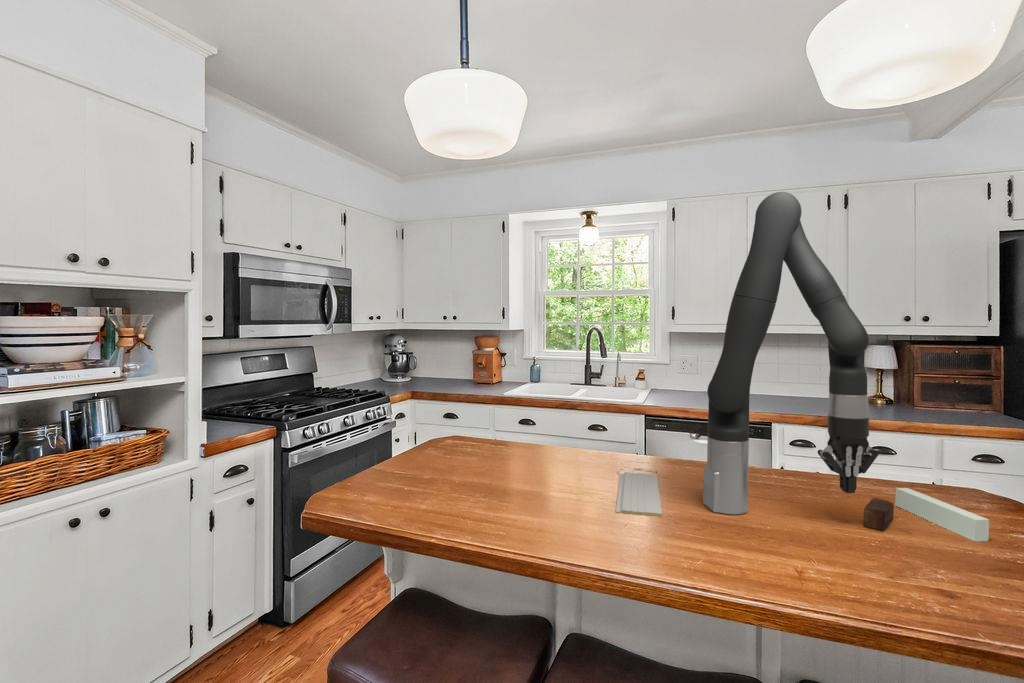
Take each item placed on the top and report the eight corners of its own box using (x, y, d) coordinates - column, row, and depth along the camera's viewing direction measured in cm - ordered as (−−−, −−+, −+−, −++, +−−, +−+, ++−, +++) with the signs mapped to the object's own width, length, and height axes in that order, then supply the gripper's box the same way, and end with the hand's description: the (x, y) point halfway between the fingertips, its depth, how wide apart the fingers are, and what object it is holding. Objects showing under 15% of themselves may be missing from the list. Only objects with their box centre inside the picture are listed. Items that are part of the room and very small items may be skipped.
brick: (885, 533, 107) (885, 511, 107) (863, 527, 110) (863, 506, 110) (894, 519, 115) (894, 499, 115) (873, 515, 118) (873, 495, 118)
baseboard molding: (609, 515, 119) (661, 520, 116) (609, 503, 119) (662, 507, 116) (615, 476, 149) (656, 479, 146) (615, 466, 149) (657, 469, 146)
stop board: (974, 541, 103) (975, 519, 103) (895, 506, 123) (895, 488, 123) (988, 541, 103) (989, 519, 103) (906, 505, 123) (907, 487, 123)
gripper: (830, 418, 106) (831, 499, 106) (890, 416, 107) (890, 496, 107) (807, 412, 113) (808, 487, 114) (863, 410, 114) (864, 485, 114)
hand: (848, 492), depth 110 cm, fingers closed
